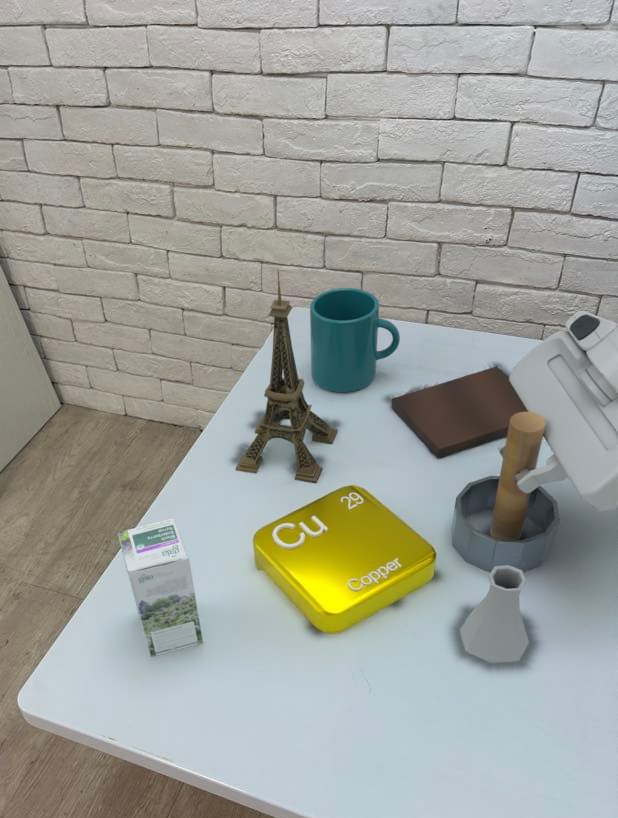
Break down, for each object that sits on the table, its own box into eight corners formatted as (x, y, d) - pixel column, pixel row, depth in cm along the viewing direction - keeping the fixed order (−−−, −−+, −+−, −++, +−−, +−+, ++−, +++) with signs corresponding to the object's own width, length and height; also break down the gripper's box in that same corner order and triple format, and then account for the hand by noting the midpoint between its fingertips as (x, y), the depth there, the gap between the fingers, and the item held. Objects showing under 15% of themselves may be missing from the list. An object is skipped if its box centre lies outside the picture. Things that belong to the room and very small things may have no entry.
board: (495, 375, 110) (496, 365, 109) (549, 422, 102) (551, 412, 101) (390, 407, 108) (391, 398, 107) (438, 458, 99) (439, 449, 98)
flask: (528, 681, 76) (549, 615, 69) (450, 667, 78) (461, 600, 71) (532, 623, 80) (551, 555, 73) (458, 610, 83) (469, 543, 76)
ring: (511, 505, 92) (520, 465, 88) (567, 563, 85) (580, 523, 81) (433, 532, 91) (437, 493, 86) (483, 594, 84) (492, 555, 79)
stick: (509, 519, 88) (532, 407, 77) (527, 537, 86) (553, 425, 75) (483, 528, 87) (503, 417, 77) (500, 547, 85) (523, 435, 74)
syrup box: (192, 610, 86) (173, 513, 76) (206, 652, 82) (188, 555, 72) (141, 624, 86) (115, 528, 75) (152, 667, 82) (126, 571, 71)
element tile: (327, 648, 81) (327, 618, 78) (248, 560, 91) (244, 531, 87) (441, 583, 85) (446, 552, 82) (354, 506, 95) (355, 475, 92)
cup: (397, 395, 109) (402, 321, 102) (309, 394, 112) (307, 322, 104) (397, 358, 116) (402, 286, 108) (313, 358, 118) (312, 288, 110)
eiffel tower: (235, 470, 102) (215, 289, 84) (261, 420, 109) (247, 243, 91) (316, 483, 99) (312, 297, 81) (337, 431, 105) (338, 249, 88)
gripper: (710, 461, 67) (570, 557, 74) (605, 335, 82) (497, 425, 89) (672, 427, 64) (530, 530, 71) (570, 301, 79) (461, 398, 86)
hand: (511, 471), depth 80 cm, fingers closed on stick, 3 cm apart
